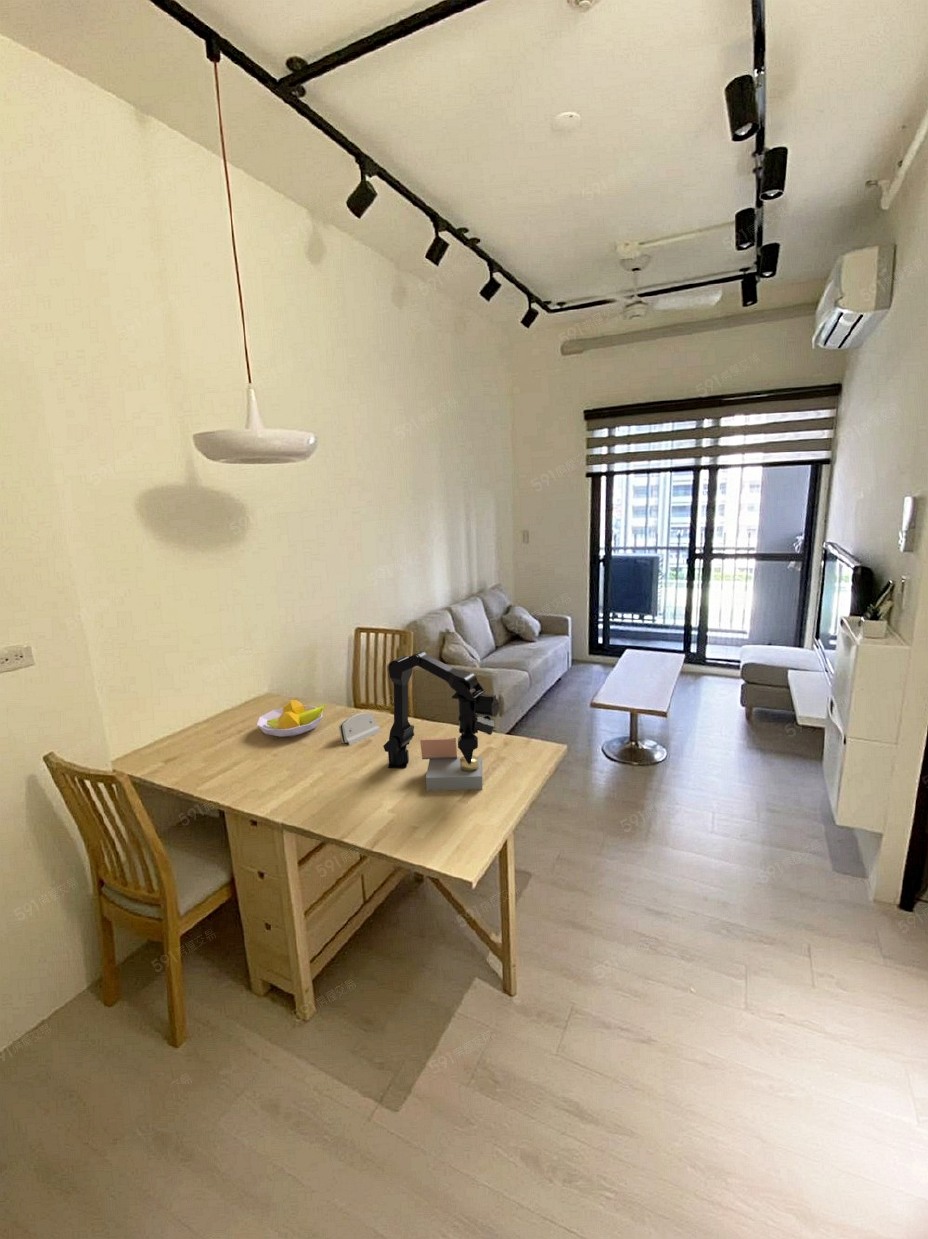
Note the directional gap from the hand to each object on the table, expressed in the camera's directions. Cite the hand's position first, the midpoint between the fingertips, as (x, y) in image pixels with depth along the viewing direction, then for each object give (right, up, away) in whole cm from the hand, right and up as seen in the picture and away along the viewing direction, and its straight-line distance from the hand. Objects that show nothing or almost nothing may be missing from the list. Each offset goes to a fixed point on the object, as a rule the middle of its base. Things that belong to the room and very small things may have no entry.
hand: (469, 756), depth 181 cm
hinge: (-44, -2, +41) cm, 60 cm away
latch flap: (-10, -2, +8) cm, 13 cm away
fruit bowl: (-73, -2, +50) cm, 89 cm away
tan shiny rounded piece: (0, -8, +2) cm, 8 cm away
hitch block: (-5, -8, +3) cm, 10 cm away
